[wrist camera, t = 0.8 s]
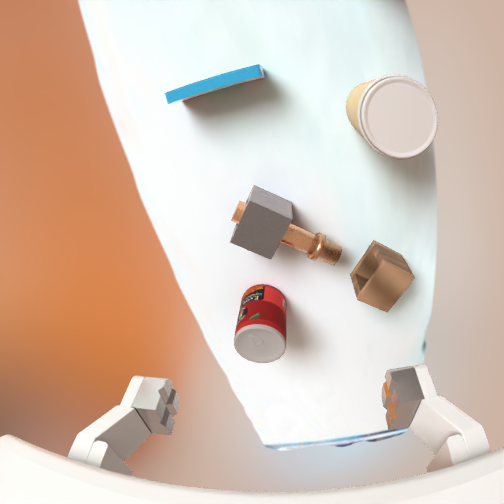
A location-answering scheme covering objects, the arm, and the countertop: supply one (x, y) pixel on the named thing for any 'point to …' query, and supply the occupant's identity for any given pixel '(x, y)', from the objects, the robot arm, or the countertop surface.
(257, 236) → the sleeve
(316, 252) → the tube
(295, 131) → the countertop surface
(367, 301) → the socket
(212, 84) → the blue thin box
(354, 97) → the coffee cup
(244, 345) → the canned food
